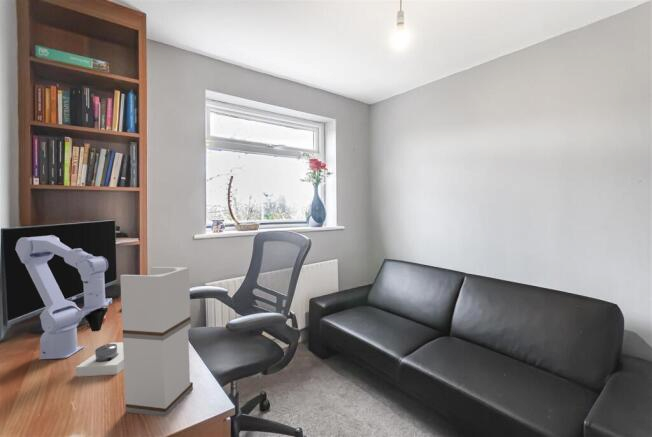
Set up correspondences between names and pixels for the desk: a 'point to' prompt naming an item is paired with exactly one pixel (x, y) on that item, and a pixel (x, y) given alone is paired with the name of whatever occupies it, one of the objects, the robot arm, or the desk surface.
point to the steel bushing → (106, 353)
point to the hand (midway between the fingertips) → (96, 330)
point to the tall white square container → (156, 339)
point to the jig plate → (102, 365)
